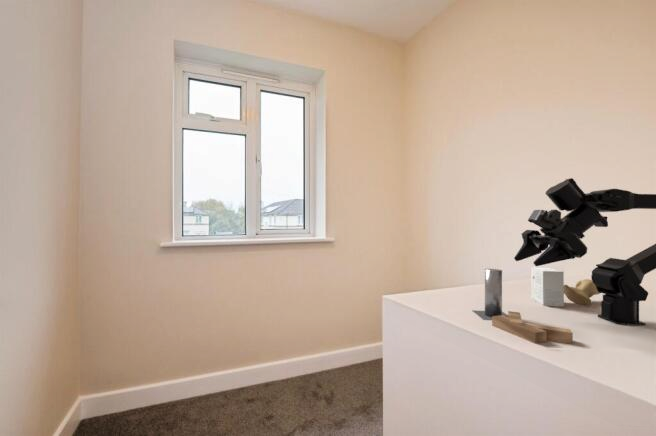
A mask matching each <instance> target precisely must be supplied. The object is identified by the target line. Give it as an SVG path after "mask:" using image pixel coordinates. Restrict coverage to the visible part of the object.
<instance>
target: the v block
mask: <svg viewBox="0 0 656 436" xmlns="http://www.w3.org/2000/svg"><path fill="white" fill-rule="evenodd" d="M507 312H508V314H507V315H508V317H506V316H503V315H499V316H492V320H491V322H492V323H491V326H493V327H494V328H497V329H500V331H501V330H502V331H504V332H507V333H508V334H511V335H514V336H517V337H518V338H520V339H523V340H524V341H525V340H526V341H528V342H530V343H533V344H541V343H547V341H552V342H558V343H565V344H571V345H573V341H574V339H573V337H574V336H573V335H574V334H573V331H572V330H571V329H570V328H563V327H557V326H556V327H555V326H548V325H544V324H543V325H542V324H541V325H540V324H536V323H534V324H533V323H528V322H527V323H526V322H523V320H522V316H521V313H520V312H517V311H509V310H508V311H507Z"/></svg>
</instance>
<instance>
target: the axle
mask: <svg viewBox="0 0 656 436" xmlns="http://www.w3.org/2000/svg"><path fill="white" fill-rule="evenodd" d="M484 311H485V315H486V316H488V317H492V316H499V315H502V312H503V270H502V269H500V268H499V269H498V268H497V269H496V268H484Z"/></svg>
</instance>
